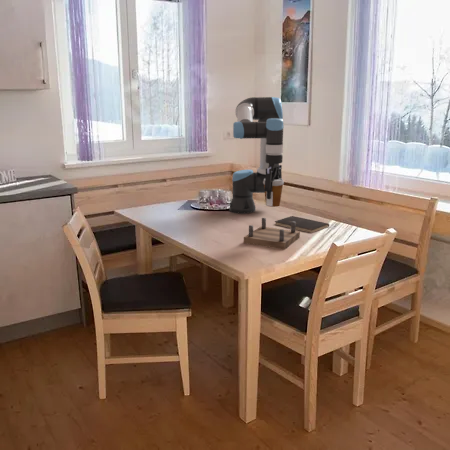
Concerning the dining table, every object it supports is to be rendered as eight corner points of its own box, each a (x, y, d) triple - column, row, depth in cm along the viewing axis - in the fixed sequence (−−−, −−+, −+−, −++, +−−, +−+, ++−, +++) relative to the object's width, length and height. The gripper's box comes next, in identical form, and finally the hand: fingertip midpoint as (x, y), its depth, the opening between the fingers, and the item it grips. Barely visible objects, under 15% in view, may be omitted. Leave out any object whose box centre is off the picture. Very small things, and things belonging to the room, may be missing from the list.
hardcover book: (311, 234, 243) (311, 229, 243) (274, 225, 259) (274, 221, 258) (329, 227, 254) (329, 223, 254) (292, 219, 270) (293, 215, 269)
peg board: (260, 232, 245) (261, 216, 243) (299, 237, 236) (300, 221, 234) (243, 243, 228) (243, 226, 226) (284, 249, 219) (285, 232, 217)
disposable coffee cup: (282, 208, 222) (283, 181, 219) (261, 207, 224) (261, 180, 220) (284, 203, 231) (284, 177, 228) (263, 202, 233) (264, 177, 229)
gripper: (275, 151, 232) (273, 198, 238) (257, 156, 214) (256, 207, 220) (290, 151, 228) (288, 200, 234) (273, 157, 210) (272, 209, 216)
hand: (273, 203), depth 227 cm, fingers closed on disposable coffee cup, 8 cm apart
